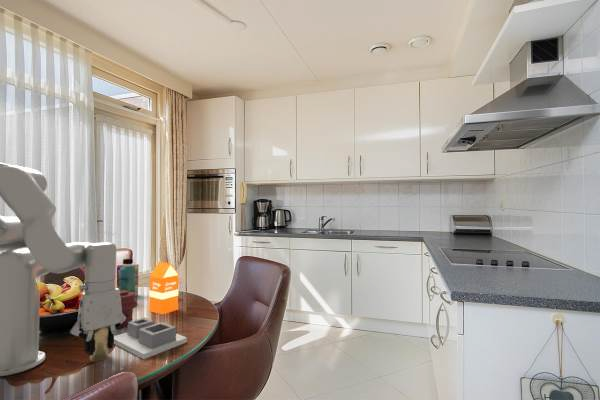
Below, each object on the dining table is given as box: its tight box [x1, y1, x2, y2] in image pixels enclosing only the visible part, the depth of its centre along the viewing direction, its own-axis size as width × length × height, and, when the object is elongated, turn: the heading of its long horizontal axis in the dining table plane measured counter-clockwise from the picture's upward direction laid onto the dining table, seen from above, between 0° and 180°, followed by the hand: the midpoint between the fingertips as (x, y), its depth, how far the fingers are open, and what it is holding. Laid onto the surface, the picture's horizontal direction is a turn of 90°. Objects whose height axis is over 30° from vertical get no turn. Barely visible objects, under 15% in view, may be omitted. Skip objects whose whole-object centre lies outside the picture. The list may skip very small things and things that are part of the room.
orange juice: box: [148, 261, 179, 315], centre depth 133 cm, size 8×9×20 cm
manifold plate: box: [113, 317, 188, 360], centre depth 100 cm, size 14×20×6 cm
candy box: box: [116, 263, 139, 297], centre depth 155 cm, size 9×4×15 cm, turn 91°
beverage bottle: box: [119, 258, 135, 293], centre depth 143 cm, size 6×7×20 cm
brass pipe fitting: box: [89, 326, 109, 363], centre depth 90 cm, size 4×4×10 cm
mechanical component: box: [118, 290, 138, 329], centre depth 115 cm, size 12×10×10 cm
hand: (99, 349), depth 90 cm, fingers closed on brass pipe fitting, 4 cm apart
